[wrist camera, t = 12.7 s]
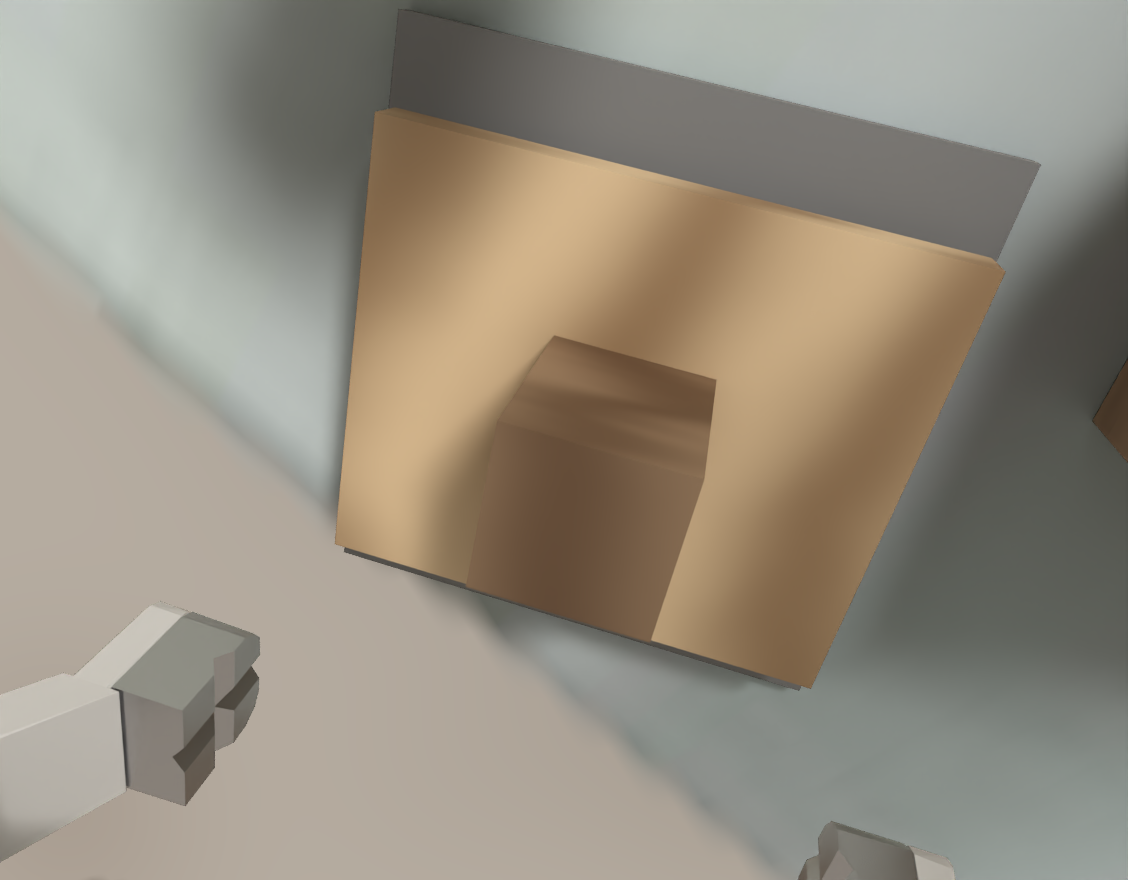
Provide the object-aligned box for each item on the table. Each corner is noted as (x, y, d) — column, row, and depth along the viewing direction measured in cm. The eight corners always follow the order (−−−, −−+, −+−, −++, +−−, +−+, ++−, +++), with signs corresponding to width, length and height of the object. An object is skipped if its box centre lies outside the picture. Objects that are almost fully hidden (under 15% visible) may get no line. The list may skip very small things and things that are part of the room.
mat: (1033, 160, 19) (1040, 164, 18) (798, 677, 26) (798, 690, 26) (408, 9, 20) (398, 9, 20) (352, 542, 28) (344, 552, 27)
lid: (981, 247, 19) (1087, 353, 13) (806, 637, 25) (822, 843, 19) (410, 104, 21) (257, 137, 14) (365, 506, 26) (241, 657, 20)
